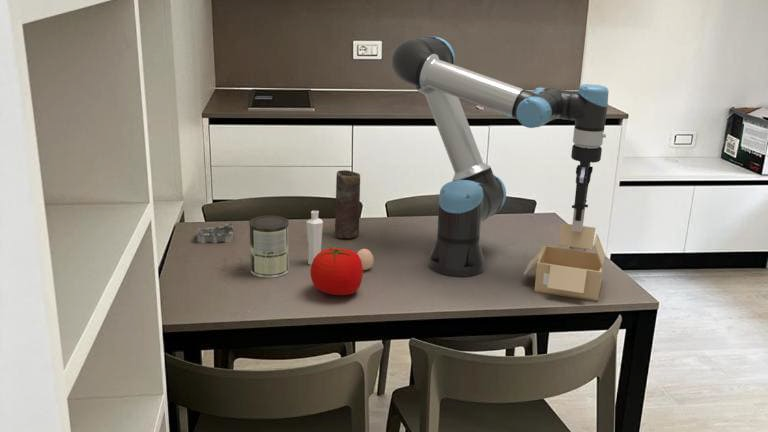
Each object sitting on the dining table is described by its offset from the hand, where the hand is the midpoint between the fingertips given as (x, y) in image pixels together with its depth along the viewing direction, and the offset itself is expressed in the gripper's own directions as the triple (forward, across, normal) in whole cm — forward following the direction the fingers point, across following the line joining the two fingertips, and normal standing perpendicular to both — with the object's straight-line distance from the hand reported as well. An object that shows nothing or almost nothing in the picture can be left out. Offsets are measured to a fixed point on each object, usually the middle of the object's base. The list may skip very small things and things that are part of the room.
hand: (576, 231), depth 213 cm
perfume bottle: (+14, -20, +68) cm, 72 cm away
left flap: (+5, -9, +8) cm, 12 cm away
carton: (+13, -8, 0) cm, 15 cm away
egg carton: (+14, -14, +103) cm, 105 cm away
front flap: (+5, -16, 0) cm, 16 cm away
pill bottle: (+13, +12, 0) cm, 17 cm away
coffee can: (+14, -30, +77) cm, 83 cm away
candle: (+13, +4, +68) cm, 69 cm away
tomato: (+14, -36, +55) cm, 67 cm away
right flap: (+4, -8, -8) cm, 13 cm away
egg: (+14, -19, +54) cm, 58 cm away
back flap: (+4, -2, 0) cm, 5 cm away
